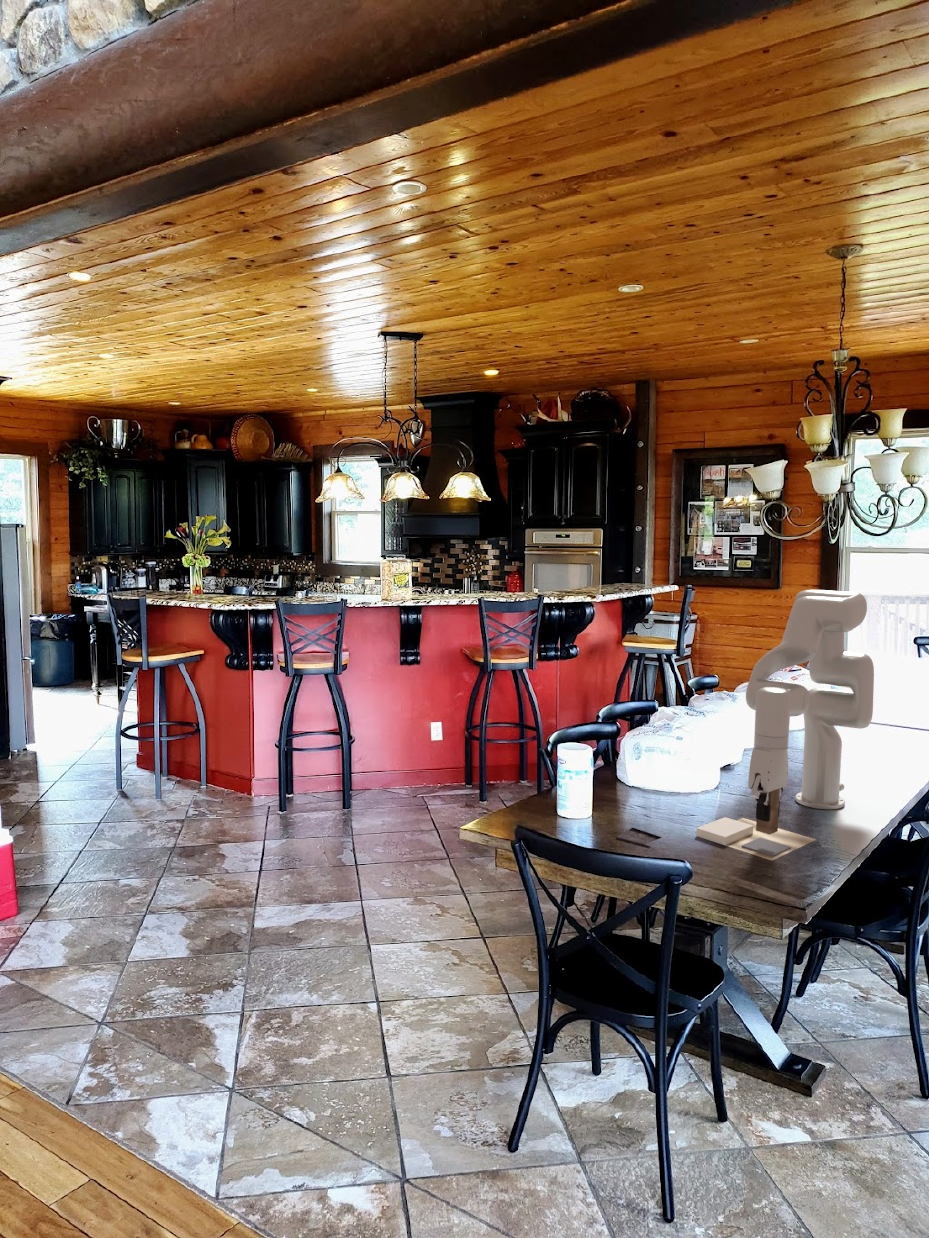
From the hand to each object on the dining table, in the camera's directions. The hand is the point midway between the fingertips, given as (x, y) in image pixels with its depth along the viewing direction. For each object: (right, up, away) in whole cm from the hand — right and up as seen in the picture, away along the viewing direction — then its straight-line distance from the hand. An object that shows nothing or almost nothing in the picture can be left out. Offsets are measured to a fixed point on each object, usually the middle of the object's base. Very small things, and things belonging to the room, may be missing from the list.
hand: (767, 817), depth 212 cm
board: (0, -8, +8) cm, 11 cm away
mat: (0, -7, +1) cm, 7 cm away
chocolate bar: (-25, -7, +14) cm, 29 cm away
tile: (-3, -5, +13) cm, 14 cm away
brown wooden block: (0, -3, 0) cm, 3 cm away
